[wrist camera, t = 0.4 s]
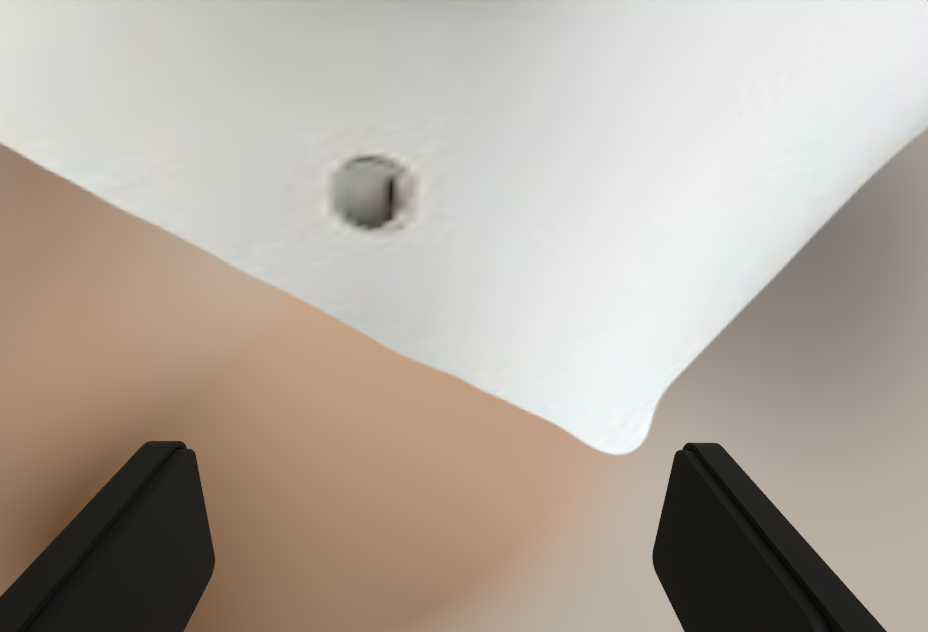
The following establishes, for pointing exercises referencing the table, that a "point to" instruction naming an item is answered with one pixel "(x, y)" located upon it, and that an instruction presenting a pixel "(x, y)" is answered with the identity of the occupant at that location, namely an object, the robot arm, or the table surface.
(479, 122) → the table surface
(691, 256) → the table surface
